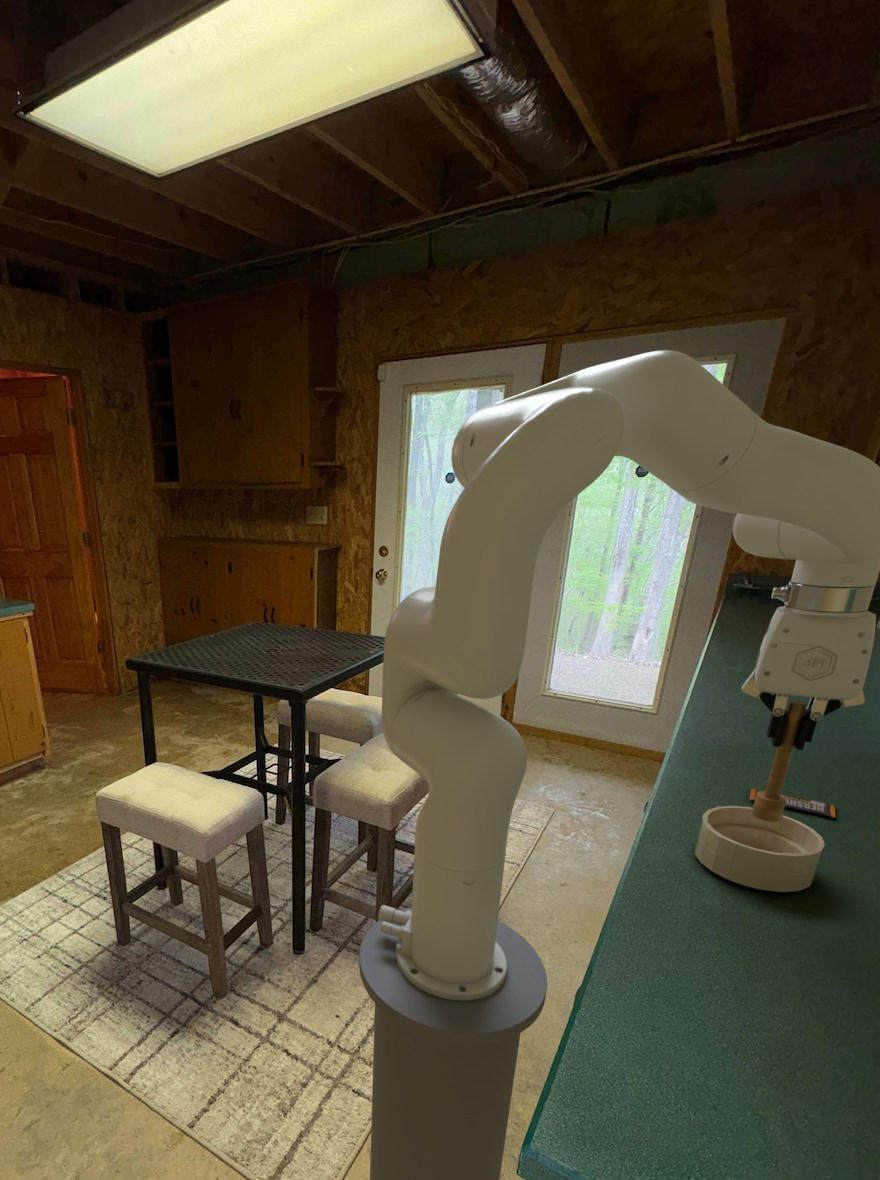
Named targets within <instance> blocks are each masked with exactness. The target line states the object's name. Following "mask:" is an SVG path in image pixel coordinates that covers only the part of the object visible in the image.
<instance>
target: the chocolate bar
mask: <svg viewBox="0 0 880 1180" xmlns="http://www.w3.org/2000/svg"><path fill="white" fill-rule="evenodd" d="M759 791H764V790H763V789H756V788H751V789H750V795H749V800H750V801H753V802H755V798H756V795H757V792H759ZM781 794H782V795H784V796H785V797H786V798H787V802H786V805H785V808H786V809H791V810H795V811H800V812H806V813H810V814H815V815H820V816H826V817H829V818H836V817H837V816H836V807H835V805H833V804H828V803H825V802H821V801H817V800H811V799H807V798H802V797H798V796H793V795H792V796H791V795H788V794H784V793H781Z"/></svg>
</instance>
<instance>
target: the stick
mask: <svg viewBox="0 0 880 1180" xmlns="http://www.w3.org/2000/svg"><path fill="white" fill-rule="evenodd" d="M806 706H807V703H806V702H803V701H800V700H791V701H789V704H788V708H787V710H786V711H787V714H786V716H787V717H788V722H787V726H786V729H785V733H784V736H783V740H782V743H781V746H779V747H776V751H775V754H774V758H773V762H772V765H771V769H770V773H769V776H768V780H767V783H766V788H765V790H763V791H759V792H757V795H756V798H755V801H753V806H752V808H753V809H752V815H753V816H755V817H756V818H758V819H761V820H765V821H770V822H778V821H780V820H781V819H782V815H784V811H785V808H786V807H785V805H786V802H787V798H786V797H785V796H784V795H785V794H783V793H782V791H783V788H784V784H785V780H786V777H787V773H788V769H789V767H790V764H791V763H790V762H791V759H792V757H793V752H794V749H795V746H794V745H795V741H796V738H797V734H798V731H799V727H800V724H801V720H802V717H803V714H804V710H806V708H807V707H806ZM782 794H783V795H782Z"/></svg>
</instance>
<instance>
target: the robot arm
mask: <svg viewBox="0 0 880 1180" xmlns="http://www.w3.org/2000/svg"><path fill="white" fill-rule="evenodd" d="M615 457H623V458H625V459H629V460H630V461H633V462H634V463H635V464H636V465H638V466H639V467H641V468H642V469H643V470H645V471H647V472H648V473H649V474H651V475H652V476H654V477H655V478H657V479H658V480H659V481H661V482H662V483H664V484H665V485H666V486H668V487H669V488H670V489H671V490H673V491H674V492H676V493H677V494H678V495H680V496H681V497H682V498H684V499H685V500H687V501H688V502H690V503H692V504H695V505H698V506H702V507H705V508H709V509H712V510H717V511H721V512H724V513H731V514H736V515H735V517H734V521H733V524H732V534H733V538H734V541H735V543H736V544H737V545H738V547H739V548H740V549H741V550H742V551H744V552H746V553H748V554H750V555H752V556H755V557H761V558H768V559H778V560H790V561H791V560H792V561H795V564H794V567H793V571H792V575H791V579H790V580H789V582H788V584H786V585H785V586H781V587H778V586H777V587H776V586H775V587H773V589H772V593H771V599H774V600H779V601H782V603H784V606H778V607H777V608H776V609H775V612H774V614H773V615H772V618H771V619H770V621H769V624H768V626H767V628H766V631H765V634H764V636H763V639H762V642H761V645H760V648H759V650H758V653H757V658H756V660H755V664H754V668H753V671H752V672H751V674H749V676H748V677H747V679H746V680H745V681H744V683H743V684H742V685H741V691H742V693H743V694H745V695H747V696H749V697H752V698H754V699H757V700H760V701H761V702H762V703H763V704H764V706H766V708H767V709H768V710H769V711H770V712H771V715H770V718H769V723H768V726H767V730H766V737H767V738H770V740H771V744H772V747H774V748H775V747H776V748H777V747H779V746H781V743H782V740H783V736H784V733H785V729H786V726H787V722H788V717H787V716H786V714H787V711H788V710H787V709H786V708H787V705H788V700H789V696H795V697H805V698H809V701H808V703H807V707H806V708H805V710H804V714H803V717H802V720H801V724H800V727H799V731H798V734H797V738H796V741H795V745H794V749H796V750H800V751H803V750H804V747H805V744H806V743H811V742H812V740H813V737H814V733H815V730H816V726H817V724H818V721H820V720H822V719H823V717H825V716H827V715H830V714H831V713H833V712H835V711H837V710H839V709H842V708H850V707H856V706H861V705H863V704H865V703H866V698H865V693H864V692H865V691H864V685H865V682H866V679H867V675H868V671H869V666H870V661H871V657H872V653H873V647H874V641H875V634H876V624H877V615H876V614H875V613H873V612H871V611H868V610H869V607H870V604H871V601H872V597H873V594H874V590H875V587H876V584H877V582H878V581H877V580H878V577H879V574H880V466H879V465H878V464H877V463H875V462H874V461H873V460H872V459H870V458H868V457H867V456H865V455H863V454H861V453H859V452H856V451H854V450H852V449H849V448H846V447H843V446H841V445H838V444H835V443H831V442H829V441H825V440H822V439H818V438H816V437H813V436H809V435H808V434H804V433H802V432H798V431H796V430H793V429H789V428H785V427H783V426H778V425H775V424H771V423H769V422H766V421H765V420H764V419H763V418H761V417H760V416H759V415H758V414H757V413H756V412H755V411H754V410H753V409H751V408H750V407H749V406H748V404H747V405H746V404H745V402H743V401H742V400H741V399H740V398H739V397H737V395H735V394H734V393H733V391H731V390H730V389H729V388H728V387H726V386H725V384H723V383H722V382H721V381H720V380H719V379H718V378H716V377H715V376H714V375H713V373H711V372H710V371H708V369H706V368H705V367H704V366H703V365H702V364H700V363H699V362H698V361H697V360H695V359H694V358H693V357H691V356H690V355H688V354H686V353H684V352H682V351H678V350H670V349H662V350H661V349H660V350H654V351H649V352H648V351H647V352H643V353H639V354H635V355H632V356H627V357H623V358H620V359H616V360H612V361H608V362H604V363H600V364H595V365H592V366H589V367H586V368H583V369H581V370H577V371H575V372H573V373H571V374H568V375H565V376H562V377H560V378H558V379H555V380H552V381H550V382H547V383H545V384H541V385H540V386H537V387H534V388H532V389H529V390H526V391H524V392H520V393H518V394H516V395H515V394H514V395H512V396H510V397H507V398H504V399H502V400H499V401H496V402H493V403H490V404H488V405H484V406H483V407H481V408H479V409H478V410H476V411H475V412H474V413H472V414H471V415H470V416H469V417H468V418H467V419H466V420H465V421H464V422H463V424H462V425H461V426H460V428H459V429H458V432H457V434H456V436H455V438H454V441H453V445H452V448H451V457H450V458H451V467H452V470H453V474H454V476H455V478H456V480H457V482H459V484H460V485H461V486H462V487H463V489H462V491H461V493H460V494H459V496H458V497H457V499H456V500H455V502H454V504H453V506H452V509H451V510H450V512H449V513H448V514H449V515H448V517H447V519H446V522H445V525H444V528H443V531H442V536H441V541H440V546H439V555H438V564H437V572H436V581H435V586H428V587H423V588H420V589H418V590H417V589H416V590H415V591H413V592H411V593H410V594H409V595H407V596H406V597H405V598H403V599H402V600H401V601H400V602H399V604H398V605H397V606H396V608H395V610H394V611H393V613H392V615H391V617H390V619H389V621H388V624H387V627H386V631H385V636H384V642H383V644H384V645H383V662H382V688H381V689H382V690H381V728H382V734H383V738H384V740H385V743H386V745H387V747H388V748H389V750H390V751H391V752H392V753H393V754H394V756H395V757H397V759H399V760H400V761H401V762H403V763H404V764H405V765H406V766H408V768H410V769H411V770H412V771H414V772H415V773H416V774H417V775H419V776H420V777H421V778H422V779H423V780H425V781H426V783H427V785H428V794H427V795H428V796H427V798H426V800H425V802H424V804H423V806H422V807H421V809H420V811H419V813H418V815H417V819H416V824H415V832H414V856H413V857H414V858H413V875H412V876H413V877H412V894H411V895H412V896H411V907H412V911H410V910H407V911H406V912H402V911H399V910H400V909H397V908H396V907H392V906H388V905H386V904H382V905H381V906H380V908H379V911H378V921H379V920H382V921H384V922H383V923H382V925H381V932H382V933H385V934H388V935H393V936H396V937H398V939H399V940H398V942H397V946H396V961H397V964H398V966H399V969H400V970H401V972H402V973H403V975H404V976H405V977H406V978H407V979H408V980H409V981H410V982H411V983H412V984H414V985H415V986H416V987H418V988H419V989H421V990H423V991H425V992H427V993H429V994H432V995H434V996H437V997H440V998H445V999H449V1000H459V1001H465V1000H475V999H480V998H483V997H486V996H488V995H491V994H492V993H494V992H495V991H497V990H498V989H499V988H500V986H501V985H502V984H503V982H504V980H505V978H506V972H507V959H506V956H505V953H504V952H503V950H502V948H501V947H500V946H499V944H498V943H497V942H496V933H497V924H498V921H499V915H500V906H501V899H502V898H501V897H502V889H503V881H504V873H505V862H506V855H507V853H506V852H507V845H508V835H509V830H510V823H511V818H512V814H513V809H514V806H515V803H516V800H517V797H518V795H519V792H520V789H521V786H522V784H523V781H524V778H525V775H526V772H527V771H526V770H527V765H528V751H527V747H526V743H525V742H524V740H523V737H522V736H521V735H520V733H519V732H518V730H517V729H516V728H515V727H514V726H513V724H511V723H510V722H508V720H506V719H504V717H503V716H500V715H498V714H497V713H496V712H493V711H492V710H489V709H488V708H486V707H484V706H482V705H480V704H478V703H476V702H473V701H472V700H469V699H466V698H464V697H467V698H471V699H477V700H478V699H480V700H489V699H494V698H496V697H499V696H502V695H503V694H505V693H506V692H507V691H509V690H510V689H511V687H512V686H513V685H514V684H515V683H516V681H517V680H518V677H519V674H520V672H521V669H522V665H523V663H524V655H525V649H526V643H527V642H526V640H527V633H528V624H529V617H530V608H531V602H532V601H531V599H532V593H533V584H534V583H533V582H534V576H535V575H534V574H535V572H536V571H535V570H536V565H537V560H538V556H539V552H540V548H541V545H542V543H543V541H544V538H545V536H546V534H547V532H548V530H549V529H550V528H551V526H552V524H553V522H554V521H555V520H556V518H557V517H558V516H559V515H560V514H561V512H562V511H563V510H564V509H565V508H566V507H567V506H568V505H569V504H570V503H571V502H572V501H573V500H574V499H575V498H576V497H577V496H579V495H580V494H581V493H582V492H583V491H584V490H586V489H587V488H588V487H589V486H591V485H592V484H594V483H595V481H596V480H597V479H598V478H600V477H601V475H602V474H603V473H604V472H605V471H606V470H607V469H608V468H609V466H610V464H611V463H612V461H613V460H614V458H615ZM463 696H464V697H463ZM394 924H397V925H400V926H402V927H399V926H396V925H394Z"/></svg>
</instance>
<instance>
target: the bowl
mask: <svg viewBox="0 0 880 1180" xmlns="http://www.w3.org/2000/svg"><path fill="white" fill-rule="evenodd" d="M752 809H753V807H750V806H739V805H724V806H723V805H722V806H716V807H713V808H709V809H707V810H706V811H705V812H704V813H703V814H702V816H701V820H700V823H699V828H698V832H697V836H696V841H695V845H694V855H695V857H696V858H697V860H699V863H700V864H702V865H703V867H705V868H707V869H708V870H709V871H711V872H712V873H714V874H716V875H718V876H719V877H721V878H723V879H726V880H728V881H730V882H732V883H734V884H738V885H741V886H744V887H747V888H750V889H751V888H752V889H755V890H760V891H767V892H778V893H779V892H780V893H789V892H800V891H802V890H804V889H807V888H810V887H811V885H812V884H813V882H814V881H815V878H816V873H817V871H818V868H819V865H820V862H821V859H822V856H823V854H824V850H825V847H826V843H825V841H824V839H823V836H821V835H820V834H819V833H818V832H817V831H816V830H815V829H814V828H812V827H810V826H808V825H807V824H805V823H803V822H801V821H799V820H797V819H794V818H792V817H789V816H787V815H784V814H783V815H782V819H781V820H780V821H778V822H770V821H765V820H761V819H758V818H756V817H755V816H753V815H752Z"/></svg>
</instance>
